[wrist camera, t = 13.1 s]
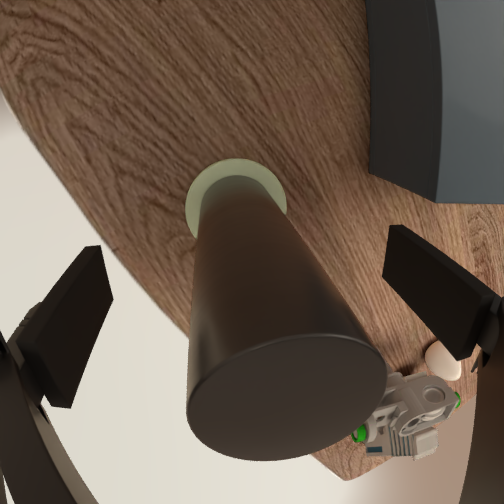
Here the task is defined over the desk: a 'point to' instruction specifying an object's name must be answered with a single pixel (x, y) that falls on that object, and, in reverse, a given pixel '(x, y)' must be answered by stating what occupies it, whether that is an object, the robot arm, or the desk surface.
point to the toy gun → (404, 438)
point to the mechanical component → (409, 406)
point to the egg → (442, 362)
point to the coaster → (223, 170)
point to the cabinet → (438, 97)
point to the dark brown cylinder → (271, 336)
